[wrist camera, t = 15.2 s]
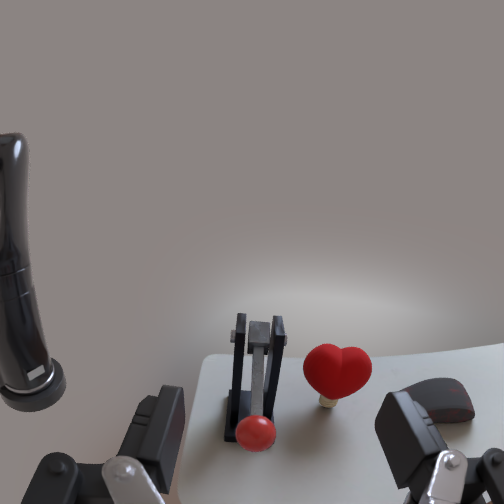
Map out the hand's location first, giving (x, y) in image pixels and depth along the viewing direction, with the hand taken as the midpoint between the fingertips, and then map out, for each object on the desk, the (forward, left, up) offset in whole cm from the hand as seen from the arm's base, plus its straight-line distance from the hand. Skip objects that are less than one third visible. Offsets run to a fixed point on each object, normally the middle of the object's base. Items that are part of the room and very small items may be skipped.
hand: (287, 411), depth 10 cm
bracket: (+10, +17, -22) cm, 30 cm away
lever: (+8, +13, -13) cm, 20 cm away
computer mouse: (+35, +2, -22) cm, 41 cm away
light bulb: (+21, +14, -22) cm, 34 cm away
